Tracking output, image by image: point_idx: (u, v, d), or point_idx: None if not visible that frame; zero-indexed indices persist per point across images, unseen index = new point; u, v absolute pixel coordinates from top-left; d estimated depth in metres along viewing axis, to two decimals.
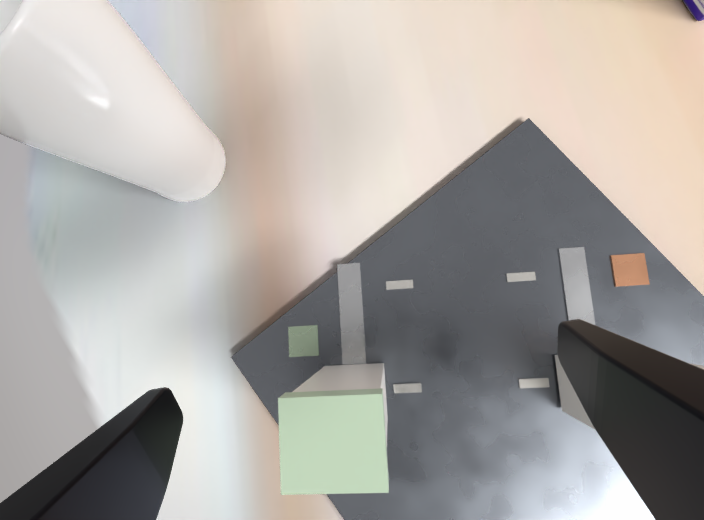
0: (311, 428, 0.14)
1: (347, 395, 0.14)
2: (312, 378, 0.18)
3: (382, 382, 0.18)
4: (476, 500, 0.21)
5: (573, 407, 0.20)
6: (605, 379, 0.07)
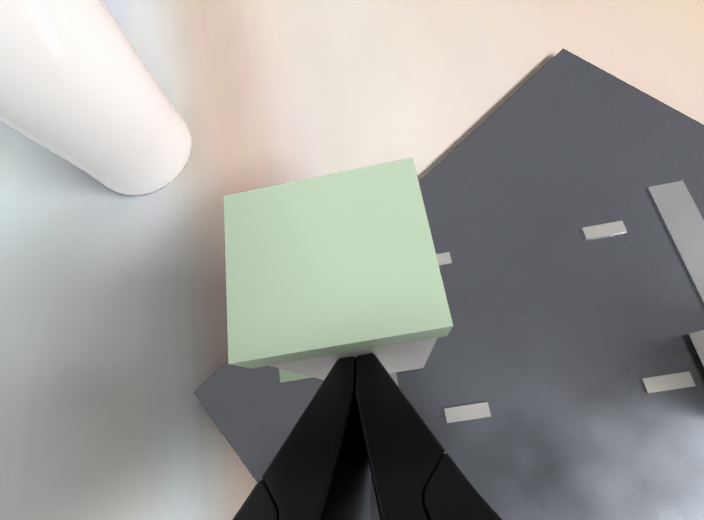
0: (286, 234, 0.07)
1: (349, 173, 0.07)
2: None
3: None
4: None
5: None
6: None
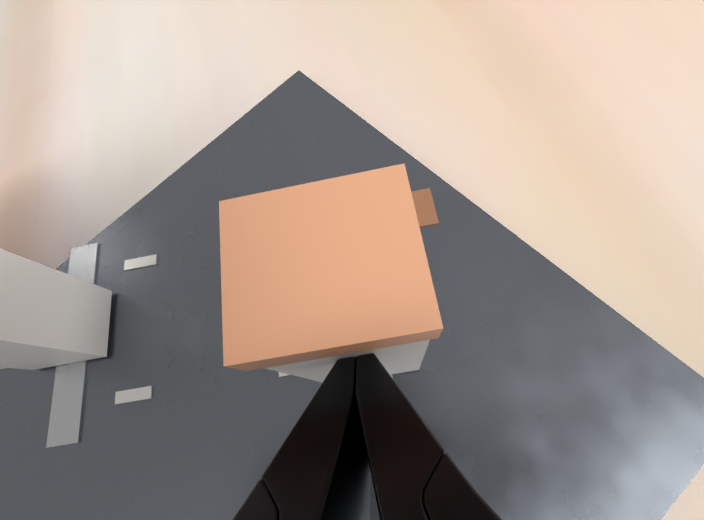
0: None
1: None
2: None
3: (8, 258, 0.13)
4: None
5: None
6: None
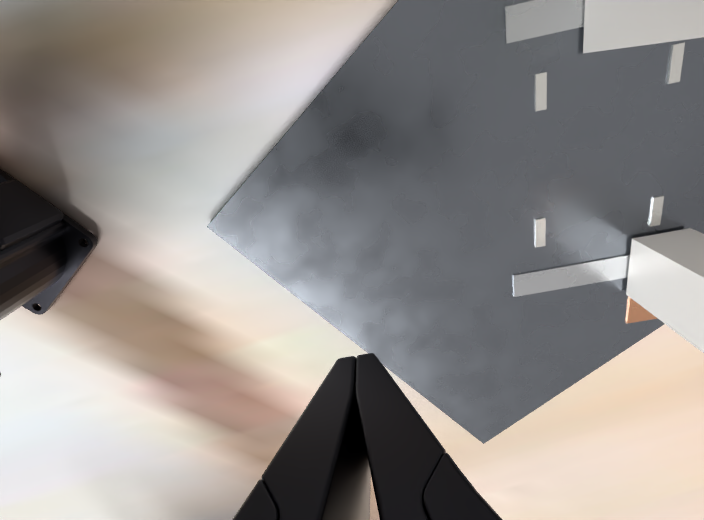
0: None
1: None
2: None
3: None
4: (418, 186, 0.20)
5: (663, 247, 0.19)
6: None
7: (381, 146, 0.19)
